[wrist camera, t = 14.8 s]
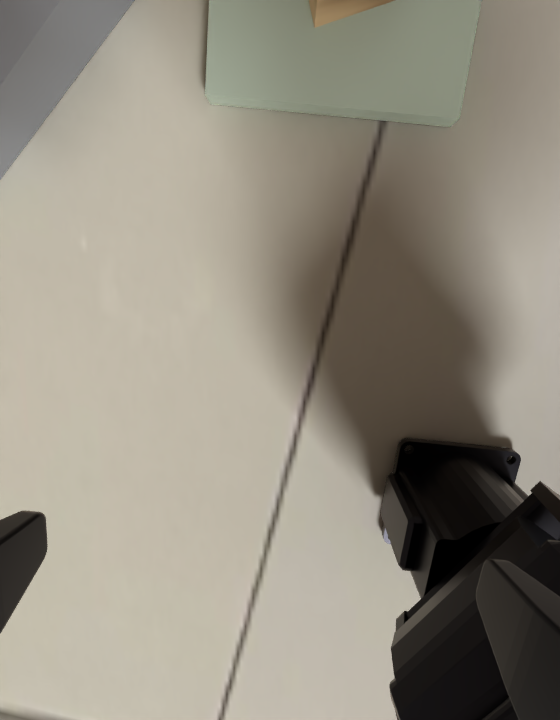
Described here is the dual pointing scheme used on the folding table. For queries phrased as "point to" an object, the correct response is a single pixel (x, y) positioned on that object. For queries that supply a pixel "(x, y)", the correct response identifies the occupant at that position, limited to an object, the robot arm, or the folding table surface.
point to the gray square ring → (44, 59)
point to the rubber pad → (343, 59)
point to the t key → (339, 9)
